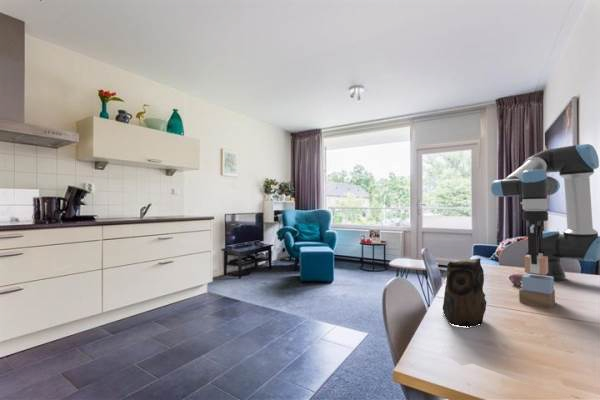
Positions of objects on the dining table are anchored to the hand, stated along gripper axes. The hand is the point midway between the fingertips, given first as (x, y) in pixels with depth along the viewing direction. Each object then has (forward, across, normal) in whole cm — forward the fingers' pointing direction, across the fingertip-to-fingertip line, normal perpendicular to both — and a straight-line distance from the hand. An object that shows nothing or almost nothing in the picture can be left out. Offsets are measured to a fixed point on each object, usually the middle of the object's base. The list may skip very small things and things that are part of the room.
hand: (536, 271), depth 108 cm
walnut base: (+12, 0, 0) cm, 12 cm away
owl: (+12, +39, -13) cm, 43 cm away
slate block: (+7, 0, 0) cm, 7 cm away
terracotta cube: (0, 0, 0) cm, 0 cm away
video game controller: (+12, -22, -8) cm, 26 cm away
